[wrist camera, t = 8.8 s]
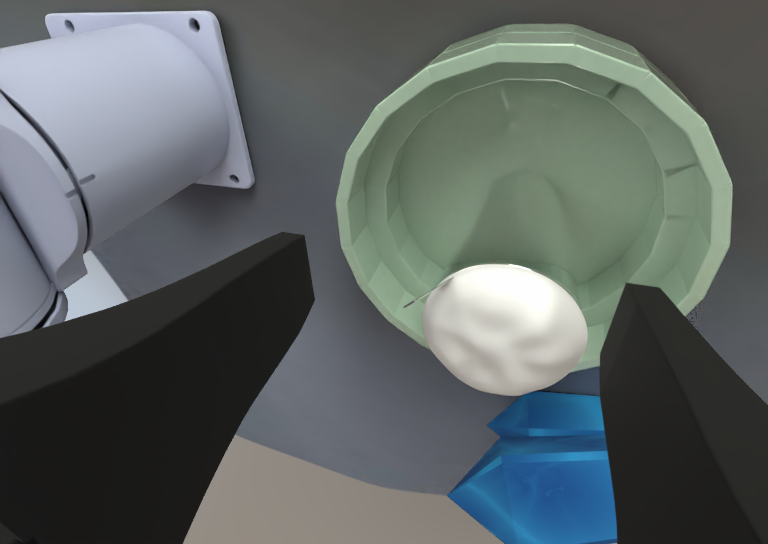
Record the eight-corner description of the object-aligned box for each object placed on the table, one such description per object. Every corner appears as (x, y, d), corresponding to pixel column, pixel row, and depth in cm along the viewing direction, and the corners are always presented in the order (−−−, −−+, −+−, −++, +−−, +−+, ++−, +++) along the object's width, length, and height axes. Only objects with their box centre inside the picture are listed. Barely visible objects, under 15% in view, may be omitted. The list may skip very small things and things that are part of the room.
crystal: (742, 596, 19) (468, 601, 22) (657, 429, 27) (459, 448, 29) (768, 500, 16) (434, 520, 18) (662, 337, 23) (434, 369, 26)
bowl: (380, 287, 25) (351, 342, 21) (365, 22, 17) (315, 41, 14) (637, 329, 21) (652, 404, 18) (762, 19, 14) (830, 45, 10)
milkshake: (520, 114, 17) (485, 258, 9) (601, 215, 18) (630, 417, 10) (433, 183, 19) (350, 338, 12) (508, 267, 21) (477, 456, 13)
